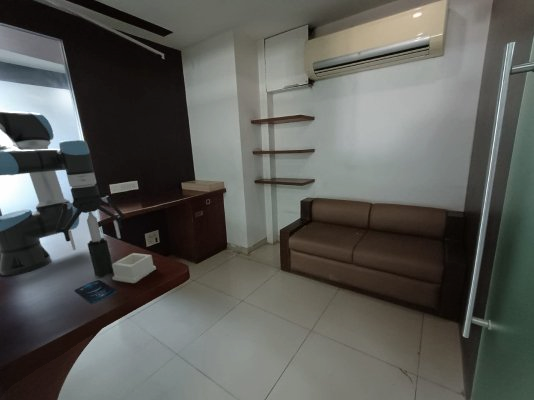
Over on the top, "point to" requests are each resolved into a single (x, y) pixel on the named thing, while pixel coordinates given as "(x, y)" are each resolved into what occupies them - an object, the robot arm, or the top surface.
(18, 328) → the top surface
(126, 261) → the socket
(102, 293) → the smartphone
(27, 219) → the robot arm
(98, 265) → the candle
